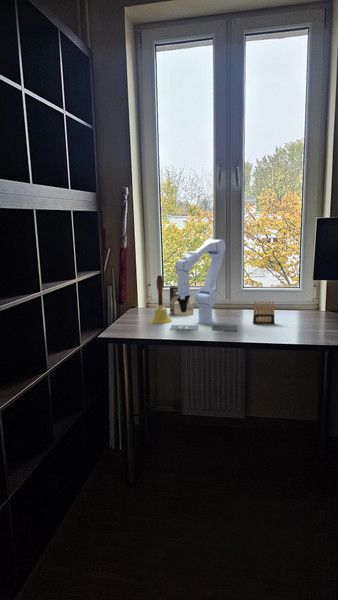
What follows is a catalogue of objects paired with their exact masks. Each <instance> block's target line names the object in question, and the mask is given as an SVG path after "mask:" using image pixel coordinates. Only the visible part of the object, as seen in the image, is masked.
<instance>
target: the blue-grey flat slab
mask: <svg viewBox="0 0 338 600" xmlns="http://www.w3.org/2000/svg"><path fill="white" fill-rule="evenodd" d="M199 326H200V325H199V324H198V325H194V324H193V325H191V324H189V325H188V324H185V325H181V324H172V325H170V328H169V331H198V330H199Z"/></svg>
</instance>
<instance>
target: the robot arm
mask: <svg viewBox="0 0 338 600" xmlns="http://www.w3.org/2000/svg"><path fill="white" fill-rule="evenodd" d="M226 248H227V246H226V243H225V241H224V240H223V239H209V238H208V239H206V240H204V241H203V244H202V245H201V246H200V247H198V249H196V250H195V251H194V250H193V251H189V252H188V254H186V255H185V256H183V258H182V259H181V258H180V259H178V260H177V261H175V265H174V269H175V271H176V274H177V286H178V292H176V294H178V295H179V298H177V300H178V302H179V304H180V308H181V312H186V308H187V302H189V300H190V297H191V292H190V289H191V288H190V271H192V268H193V266H194V265H195V264H196V263H198V262H199V261H200V257H202V256H204V255H205V254H206V253H207V254H208V256H209V257H211V260H210V264H209V267H208V271H207V274H206V277H205V280H204V284H203V286H202V287H200V288H199V289H198V291H197V293H196V294H195V296H194V300H195V303H196V304H197V307H198V318H197V324H198V325H199V324H201V325H202V324H205V325H206V324H207V325H213V324H214V318H213V307H214V305H215V303H216V297H217V292H216V291H215V289H214V288H215V285H216V282H217V278H218V275H219V273H220V269H221V265H222V262H223V260H224V259H223V258H224V253H225V251H226Z"/></svg>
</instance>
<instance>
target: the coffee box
mask: <svg viewBox="0 0 338 600" xmlns="http://www.w3.org/2000/svg"><path fill="white" fill-rule="evenodd" d="M176 292H178V285H169V316H173V315H174V316H175V314H174V303H175V302H178V300H177V298H179V295H178V294H176Z"/></svg>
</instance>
